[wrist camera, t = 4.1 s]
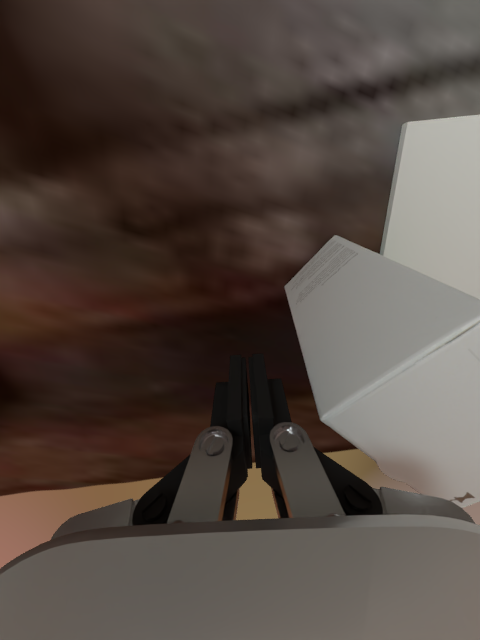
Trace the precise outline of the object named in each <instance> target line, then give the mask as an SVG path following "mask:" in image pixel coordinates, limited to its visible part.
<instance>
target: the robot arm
mask: <svg viewBox="0 0 480 640" xmlns="http://www.w3.org/2000/svg"><path fill="white" fill-rule="evenodd" d="M252 355H253V357H249V374H250V390H251V407H252V422H253V435H254V448H255V461H256V468H261V472H262V479H263V480H264V481H265V482H266V483H267V484H268V485H269V486H271V489H272V494H273V498H274V502H275V506H276V510H277V514H278V518H279V519H256V520H236V514H237V506H238V499H239V488H240V487H241V486H242V485H243V483H244V482H245V481H246V480H247V477H248V474H247V473H248V472H247V469H250V468H252V453H251V432H250V412H249V395H248V383H247V371H246V359H245V358H241V355H233V356H230V370H229V382H218V383H216V387H215V395H214V402H213V410H212V418H211V425H210V427H209V428H207V429H205V430H204V431H202V432H201V433H200V434H199V435H198V437H197V439H196V441H195V444H194V447H193V449H192V452H191V454H190V455H189V456H188V457H187V458H186V459H185V460H183V461H182V462H181V463H180V464H179V465H178V466H176V467H175V468H174V469H173V470H172V471H171V472H169V473H168V474H167V475H166V476H165V477H164V478H162V479H161V480H160V481H159V482H158V483H157V484H155V485H154V486H153V487H152V488H151V489H150V490H149V491H147V492H146V493H145V494H144V495H143V496H142V497H141V498H140V499H139V500H135V501H133V499H128V500H125V501H122V502H118V503H115V504H112V505H109V506H105V507H102V508H98V509H95V510H92V511H89V512H85V513H82V514H78V515H76V516H74V517H72V518H70V519H68V520H67V521H66V522H65V523H63V524H62V525H61V526H60V527H59V528H58V530H57V531H56V532H55V533H54V535H53V537H52V539H51V540H50V541H47V542H45V543H43V544H40V545H39V546H37V547H35V548H33V549H31V550H29V551H27V552H25V553H23V554H21V555H20V556H18V557H16V558H15V559H13V560H12V561H10V562H9V563H7V564H6V565H4V566H3V567H2V568H1V569H0V640H480V525H477V524H475V522H474V521H473V520H472V518H471V517H470V515H468V514H467V513H466V512H465V511H464V510H463V509H462V508H461V507H459V506H458V505H456V504H455V503H453V502H451V501H449V500H446V499H443V498H438V497H433V496H428V495H423V494H417V493H412V492H407V491H401V490H396V489H390V488H386V487H380V489H374V488H372V487H371V486H369V485H368V484H367V483H366V482H364V481H363V480H362V479H360V478H359V477H357V476H355V475H354V474H353V473H351V472H350V471H348V470H346V469H345V468H344V467H342V466H341V465H339V464H338V463H336V462H335V461H333V460H332V459H330V458H329V457H327V456H326V455H324V454H323V453H322V452H320V451H319V450H317V449H316V448H314V447H313V445H312V443H311V441H310V439H309V437H308V435H307V433H306V432H305V430H304V429H303V428H301V427H300V426H299V425H297V424H295V423H292V422H291V418H290V414H289V410H288V406H287V401H286V397H285V393H284V389H283V385H282V381H281V379H267V375H266V369H265V362H264V356H263V354H252Z"/></svg>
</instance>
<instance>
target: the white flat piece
mask: <svg viewBox="0 0 480 640" xmlns="http://www.w3.org/2000/svg"><path fill="white" fill-rule="evenodd" d="M380 255H382V256H384V257H386V258H389V259H391V260H393V261H395V262H398V263H400V264H402V265H404V266H407V267H409V268H411V269H413V270H416V271H418V272H420V273H422V274H424V275H427V276H429V277H431V278H433V279H436V280H438V281H440V282H442V283H445V284H447V285H449V286H451V287H453V288H456V289H458V290H460V291H462V292H465V293H467V294H469V295H471V296H473V297H476V298H478V299H480V115H472V116H462V117H453V118H443V119H433V120H423V121H414V122H407V123H405V124H403V125H402V129H401V135H400V141H399V147H398V152H397V158H396V164H395V169H394V175H393V181H392V186H391V192H390V198H389V204H388V209H387V215H386V221H385V226H384V232H383V238H382V243H381V249H380Z"/></svg>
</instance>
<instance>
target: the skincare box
mask: <svg viewBox="0 0 480 640" xmlns="http://www.w3.org/2000/svg"><path fill="white" fill-rule="evenodd" d="M284 288H285V291H286V295H287V298H288V302H289V306H290V309H291V313H292V317H293V321H294V324H295V328H296V332H297V336H298V339H299V343H300V347H301V350H302V354H303V358H304V362H305V365H306V369H307V373H308V377H309V380H310V384H311V388H312V391H313V395H314V399H315V403H316V406H317V410H318V414H319V417H320V420H321V421H322V422H323V423H325V424H326V425H328V426H329V427H331V428H332V429H333V430H335V431H336V432H337V433H339V434H340V435H341V436H342V437H344V438H345V439H346V440H348V441H349V442H350V443H352V444H353V445H354V446H356V447H357V448H358V449H360V450H361V451H362V452H364V453H365V454H366V455H368V456H369V457H370V458H371V459H373V460H374V461H375V462H376V463H377V465H378V467H379V469H380V470H381V471H382V472H383V473H384V474H385V475H386V476H388V477H390V478H392V479H394V480H397V481H400V482H404V483H407V484H408V485H409V486H410V487H412V488H413V489H415V490H416V491H417V492H419V493H420V494H423V495H428V496H433V497H438V498H443V499H446V500H449V501H451V502H453V503H455V504H456V505H458V506H459V507H461V508H464V507H467V506H469V505H471V504H474V503H477V502H480V299H478V298H476V297H473V296H471V295H469V294H467V293H465V292H462V291H460V290H458V289H456V288H453V287H451V286H449V285H447V284H445V283H442V282H440V281H438V280H436V279H433V278H431V277H429V276H427V275H424V274H422V273H420V272H418V271H416V270H413V269H411V268H409V267H407V266H404V265H402V264H400V263H398V262H395V261H393V260H391V259H389V258H386V257H384V256H382V255H380V254H378V253H375V252H373V251H371V250H368V249H366V248H364V247H362V246H359V245H357V244H355V243H353V242H350V241H348V240H346V239H344V238H342V237H339V236H337V235H334V236H333V237H332V238H331V239H330V240H329V241H328V242H327V243H326V244H325V245H324V246H323V247H322V248H321V249H320V250H319V251H318V252H317V254H316V255H315V256H314V257H313V258H312V259H311V260H310V261H309V262H308V263H307V264H306V265H305V266H304V267H303V268H302V269H301V270H300V271H299V272H298V273H297V274H296V275H295V276H294V277H293V278H292V279H291V280H290V281H289V282H288V283H287V284H286V285H285V286H284Z"/></svg>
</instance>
